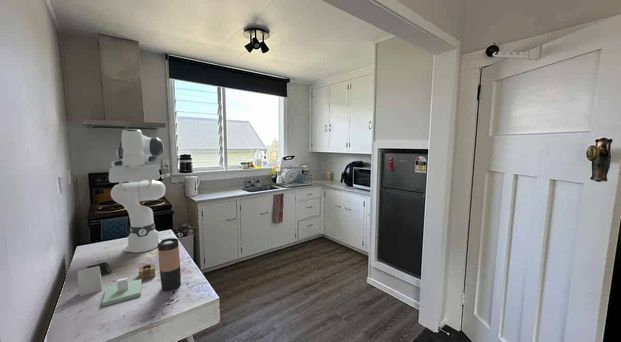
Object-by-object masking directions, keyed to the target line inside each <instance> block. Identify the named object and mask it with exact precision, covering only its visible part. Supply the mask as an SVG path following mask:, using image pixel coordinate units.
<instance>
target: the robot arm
mask: <svg viewBox="0 0 621 342" xmlns="http://www.w3.org/2000/svg"><path fill="white" fill-rule="evenodd" d="M164 147H165V146H164V142H163V141H162V139H160V138H159V137H157V136H155V137H149V136H146V135H144V134H143V131H142V130H140V129H138V128H125V129H122V131H121V140H120V141H119V146H118V148H117V150H116V156H117V158H118V160H113V161H112V162H111V163H110V164H111V166H112V167H110V168H109V170H108V171H109V172H108V181H109V183H118V184H115V185H114V186H113V187H112V188H111V190H110V196H111V199H112V200H113V201H114V202H115V203H117V204H119V205H121V206H123V207H124V208H125V210H126V211H127V213H128V216H129V223H130V226H129V232H130V234H129V235H128V236H127V246H126V247H125V249H124V252H126V253H128V252H131V253H143V252H144V253H145V252H147V251H148V252H149V251H151V250H152V251H153V250H154V249H156V248H158V243H160V242H161V241H162V240H161V238H160V236H159V231H158V230H156V224H155V221H154V211H153V209H152V208H150V206H146V205H142V204H141V203H140V202H144V201H153V200H157V199H161V198H163V197H164V196H165V194H166V190H167V189H166V185H165V184H164V183H163V182H162V181H159V179H160V178H161V175H160V169H161V164H160V162H158V161H157V159H158V157H160V156H161V155H162V154H163V153H164V149H165V148H164Z"/></svg>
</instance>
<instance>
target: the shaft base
mask: <svg viewBox="0 0 621 342" xmlns="http://www.w3.org/2000/svg"><path fill="white" fill-rule="evenodd" d="M142 281H143V280H142V279H139V278H138V279H134V280H131V281H129V277H123V278H118V279H116V284H114V285H111V286H108V287H106V288H105V292H104V295H103V299H102V302H101V305H102V307H106V306H109V305H113V304H117V303H120V302H123V301H127V300H132V299H134V298H139V297H141V296H142V287H143V286H142V284H143V282H142Z"/></svg>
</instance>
